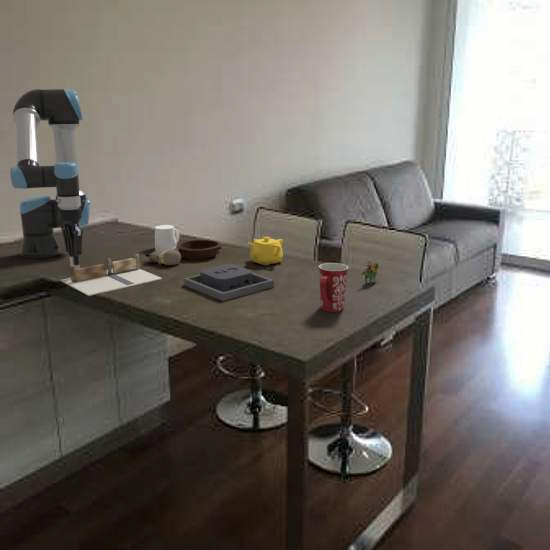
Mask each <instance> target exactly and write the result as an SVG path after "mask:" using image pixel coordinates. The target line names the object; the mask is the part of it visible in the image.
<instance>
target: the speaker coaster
mask: <svg viewBox="0 0 550 550" xmlns="http://www.w3.org/2000/svg"><path fill="white" fill-rule="evenodd" d="M252 282H255V283H252V285H249V286H246V287H242V288H238V289H234V290H230V291H227V292H221V291H218V290H216V289H213V288H211V287H208V286H206V285H203V284H201V282H200V274H197V275H192V276H189V277H184V278H183V286H185V287H188V288H190V289H192V290H194V291H197V292H199V293H202V294H204V295H207V296H209V297H212V298H214V299H216V300H219V301H221V302H225V301H228V300H233V299H236V298H239V297H243V296H246V295H250V294H254V293H257V292H262V291H264V290H269V289H272V288H274V287H275V279H272V278H269V277H265V276H262V275H259V274H257V273H254V272H252Z"/></svg>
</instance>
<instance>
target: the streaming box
mask: <svg viewBox="0 0 550 550" xmlns="http://www.w3.org/2000/svg"><path fill="white" fill-rule="evenodd" d="M199 273H200V274H199V275H200V283H201V284H203V285H206V286H208V287H211V288H213V289H216V290H218V291H221V292H227V291H230V290H234V289H238V288H242V287H246V286H249V285H253V281H252V273H253V271H252V270H250V269H248V268H245V267H243V266H239V265H237V264H233V263H226V264H220V265H215V266H212V267H206V268H202V269H200V270H199Z"/></svg>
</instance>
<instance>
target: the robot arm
mask: <svg viewBox="0 0 550 550" xmlns="http://www.w3.org/2000/svg"><path fill="white" fill-rule="evenodd" d="M83 118H84V117H83V114H82V108H81V105H80V99H79V96H78V93H77V91H75V90H73V89H65V88H63V89H59V88H58V89H56V88H55V89H52V88H51V89H47V88H46V89H43V88H42V89H40V88H36V89H35V88H34V89H31V90H28V91H27V92H24V94H22V95H21V96H20V97H19V98H18V100H17V101H16V102H15V104H14V107H13V110H12V119H13V122H14V124H15V128H16V130H15V135H16V137H15V138H16V141H15V142H16V143H15V144H16V166H12V167H10V171H9V172H10V181H11V185H12V187H13V188H14V189H23V190H24V189H26V190H27V189H38V188H39V189H41V188H55V189H56V193H55V199H51V197H50V195H38V196H32V197H29V198H26V199H23V200H22V201H21V202H20V203H19V210H20V211H19V215H20V219H21V228H22V235H23V236H22V242H21V247H20V250H19V251H20V256H21V258H23V259H30V260H32V259H33V260H34V259H35V260H38V259H47V258H48V259H49V258H52V257H55V256H58V255H60V254H61V247H60V246H59V242H58V240H57V239H56V236H55V233H54V232H55V231H54V229H61V232H62V237H63V241H64V242H63V243H64V247H65V252H66V253H68V256H69V263H70V267H71V266H75V267H76V269H79V268H81V265H80V256H81V255H82V254H83V252H82V251H83V235H84V230H83V229H80V228H81V227H86V226H87V225H88V224H89V222H90V204H91V203H90V198H89V197H87V194H86V192H84V191H83V189H82V182H81V170H80V162H79V148H78V138H77V129H78V127H79V126H80V121H82V120H83ZM41 121H48V123H47V124H48V126H49V127H50V128H51V129H52V131H53V141H54V153H55V154H54V155H55V161H56V162H55V164H54V165H41V162H40V147H39V146H40V144H39V143H40V140H39V126H38V125H39V124H40V123H41Z"/></svg>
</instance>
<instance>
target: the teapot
mask: <svg viewBox="0 0 550 550" xmlns="http://www.w3.org/2000/svg"><path fill="white" fill-rule="evenodd" d="M247 244H248V245H249V247H250V249H249V251H250V255H249V256H250V257H249V258H250V260H251V262H253V263H255V264H260V265H263V266H265V265H267V266H269V265H271V264H278V263H280V262H282V261H283V257H284V252H283V248H282V247H283V244H284V240H283V239H282V238H281V239H280V238H279V239H274V238H271V237H269V236H264V237H263V238H260V239H258V238H253V239H252V242H247Z"/></svg>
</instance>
